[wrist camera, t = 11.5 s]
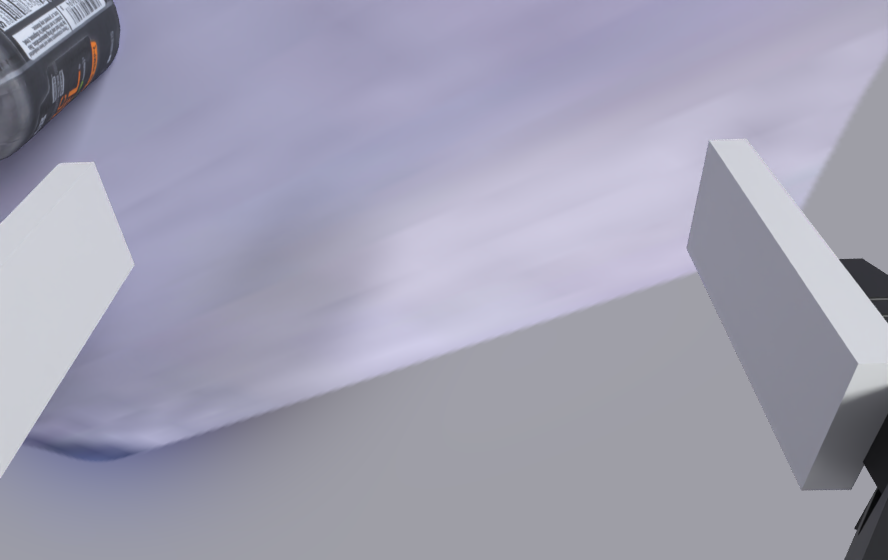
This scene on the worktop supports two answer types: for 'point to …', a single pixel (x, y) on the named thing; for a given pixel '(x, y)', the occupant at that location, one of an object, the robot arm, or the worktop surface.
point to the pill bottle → (49, 60)
